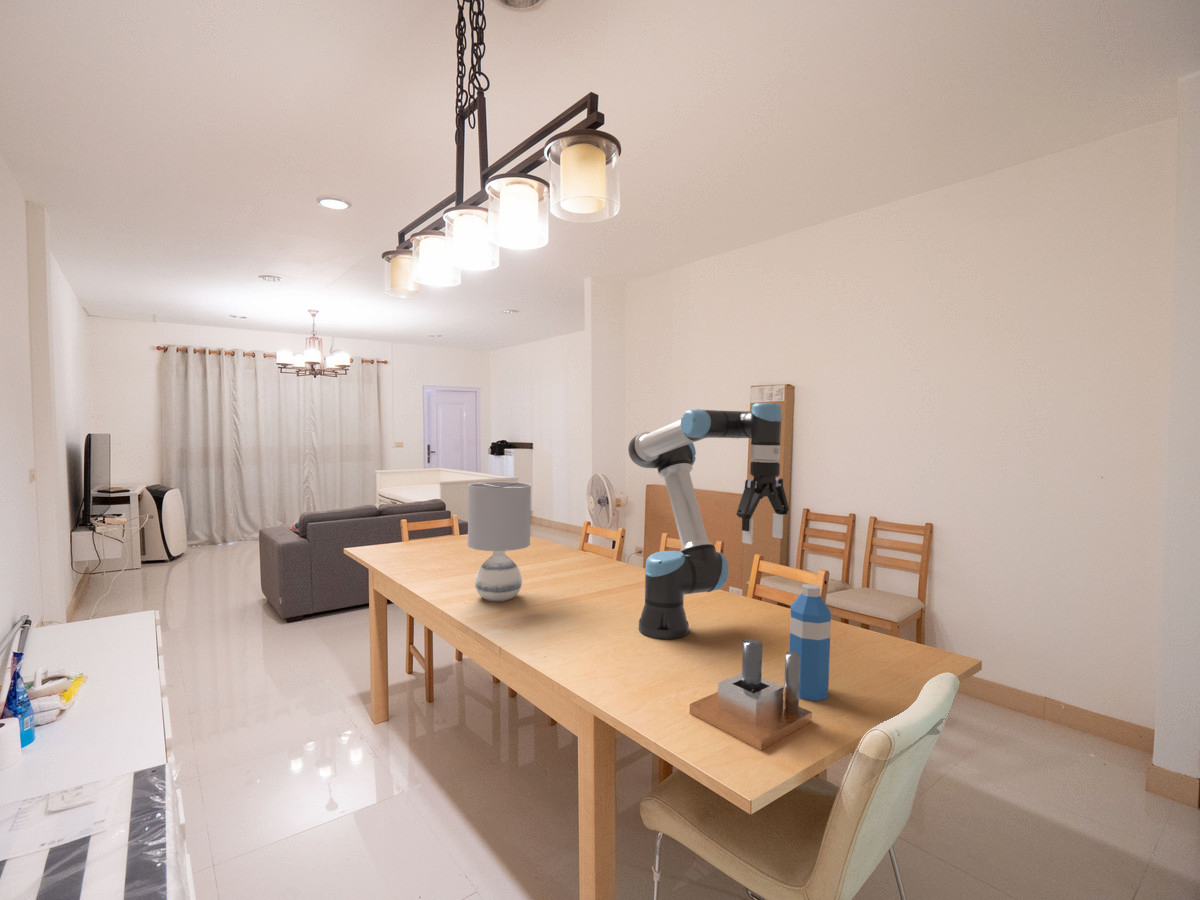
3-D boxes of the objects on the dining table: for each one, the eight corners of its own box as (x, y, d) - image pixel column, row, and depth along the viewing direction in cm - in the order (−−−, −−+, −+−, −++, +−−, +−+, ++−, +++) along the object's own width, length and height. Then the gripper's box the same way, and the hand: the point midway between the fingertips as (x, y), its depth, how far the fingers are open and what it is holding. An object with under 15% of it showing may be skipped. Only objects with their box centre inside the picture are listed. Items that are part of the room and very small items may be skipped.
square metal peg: (737, 706, 122) (739, 641, 121) (748, 701, 124) (750, 637, 124) (752, 714, 119) (754, 647, 118) (764, 708, 121) (766, 643, 121)
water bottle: (780, 683, 138) (783, 581, 137) (817, 682, 139) (821, 580, 138) (796, 701, 129) (800, 592, 128) (836, 700, 130) (840, 591, 129)
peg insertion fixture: (689, 713, 123) (691, 648, 122) (741, 690, 134) (742, 631, 133) (760, 750, 109) (763, 678, 108) (811, 721, 120) (813, 655, 120)
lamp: (524, 608, 192) (526, 488, 190) (460, 606, 192) (461, 487, 190) (532, 590, 213) (534, 482, 212) (475, 588, 213) (476, 481, 212)
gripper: (748, 463, 141) (745, 548, 142) (803, 461, 157) (801, 537, 157) (724, 461, 147) (721, 543, 147) (779, 459, 162) (777, 533, 163)
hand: (762, 540), depth 152 cm, fingers open, 13 cm apart
